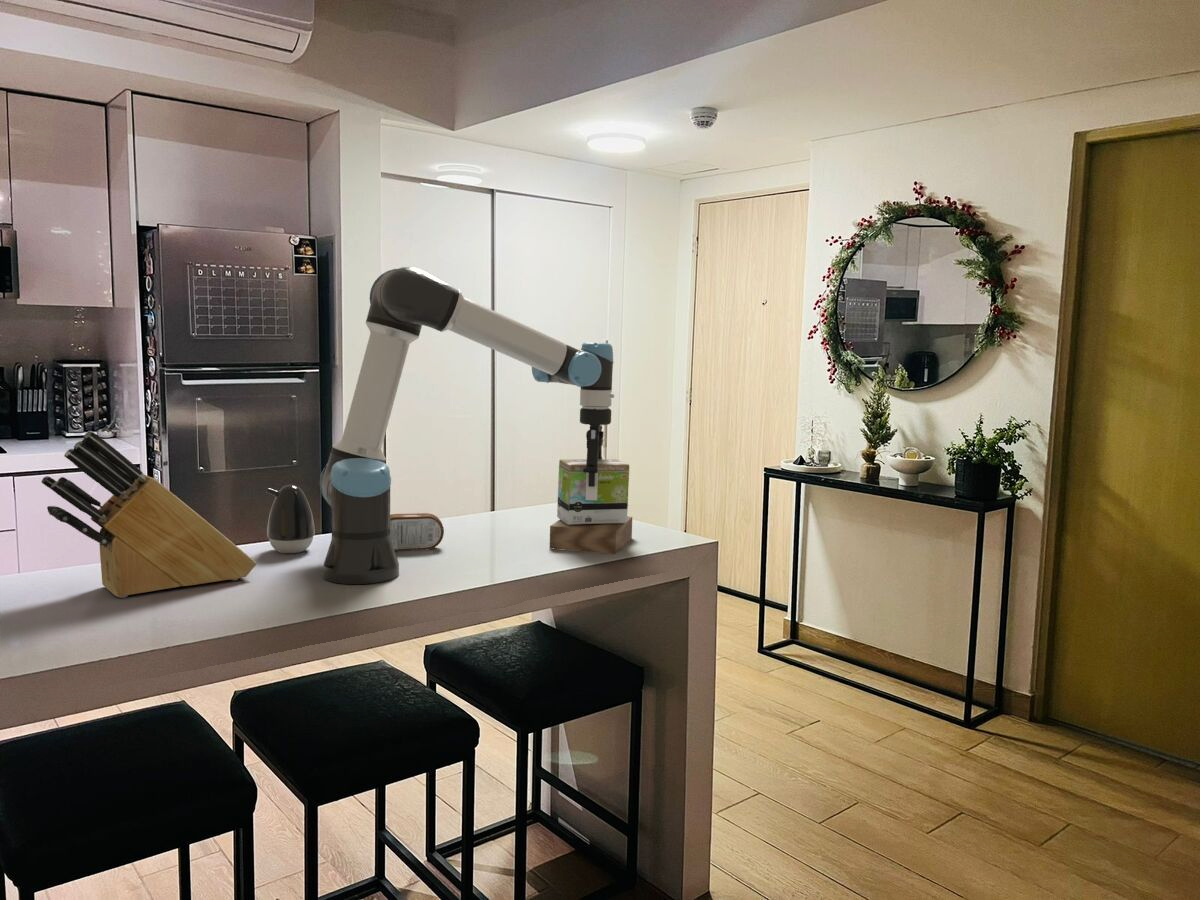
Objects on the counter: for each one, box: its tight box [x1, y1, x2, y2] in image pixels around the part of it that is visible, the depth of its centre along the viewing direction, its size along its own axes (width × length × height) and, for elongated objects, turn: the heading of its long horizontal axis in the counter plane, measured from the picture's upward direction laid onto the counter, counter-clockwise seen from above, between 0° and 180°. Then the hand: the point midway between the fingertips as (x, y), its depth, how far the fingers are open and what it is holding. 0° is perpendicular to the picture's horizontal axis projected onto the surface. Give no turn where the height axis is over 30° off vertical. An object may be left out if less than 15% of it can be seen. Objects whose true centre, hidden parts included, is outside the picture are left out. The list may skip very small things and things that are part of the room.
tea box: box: [556, 458, 630, 525], centre depth 224 cm, size 15×10×15 cm, turn 109°
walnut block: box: [549, 515, 633, 555], centre depth 226 cm, size 16×18×6 cm
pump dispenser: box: [265, 484, 316, 554], centre depth 209 cm, size 10×10×15 cm
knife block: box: [41, 430, 257, 599], centre depth 177 cm, size 11×35×31 cm, turn 130°
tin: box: [390, 512, 445, 552], centre depth 214 cm, size 15×3×8 cm, turn 108°
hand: (593, 495), depth 225 cm, fingers open, 13 cm apart
